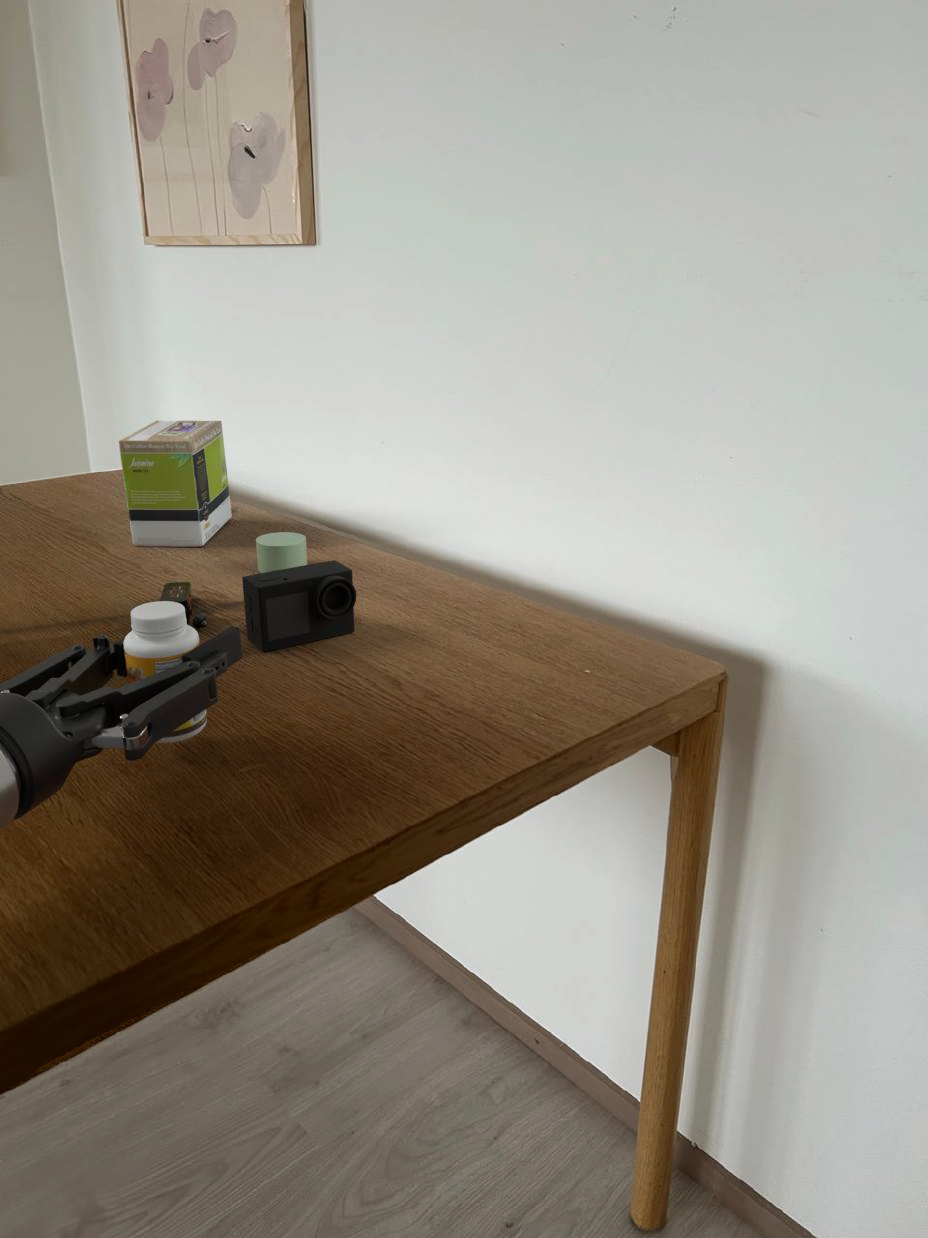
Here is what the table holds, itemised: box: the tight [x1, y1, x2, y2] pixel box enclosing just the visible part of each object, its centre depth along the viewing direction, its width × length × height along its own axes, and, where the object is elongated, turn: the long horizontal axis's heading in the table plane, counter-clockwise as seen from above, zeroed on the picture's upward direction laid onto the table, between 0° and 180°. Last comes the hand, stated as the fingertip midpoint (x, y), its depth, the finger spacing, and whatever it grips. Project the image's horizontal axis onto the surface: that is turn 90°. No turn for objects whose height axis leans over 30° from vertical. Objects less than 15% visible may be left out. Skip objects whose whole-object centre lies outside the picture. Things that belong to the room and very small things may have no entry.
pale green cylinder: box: [255, 531, 309, 573], centre depth 116 cm, size 6×6×5 cm
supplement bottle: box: [124, 600, 208, 744], centre depth 74 cm, size 6×6×10 cm
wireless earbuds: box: [159, 581, 208, 629], centre depth 103 cm, size 5×7×3 cm, turn 11°
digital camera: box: [241, 559, 357, 653], centre depth 98 cm, size 10×5×7 cm, turn 124°
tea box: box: [118, 420, 233, 548], centre depth 133 cm, size 15×10×15 cm, turn 178°
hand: (203, 636), depth 78 cm, fingers closed on supplement bottle, 6 cm apart
